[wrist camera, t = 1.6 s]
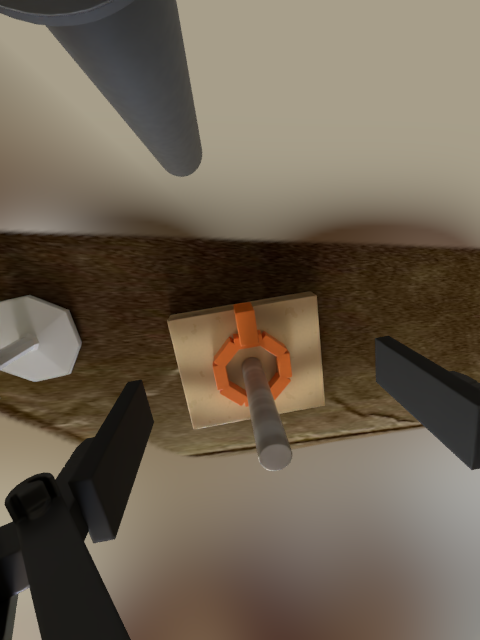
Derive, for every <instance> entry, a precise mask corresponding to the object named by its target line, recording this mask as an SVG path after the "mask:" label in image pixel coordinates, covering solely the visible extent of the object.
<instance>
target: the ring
mask: <svg viewBox="0 0 480 640" xmlns="http://www.w3.org/2000/svg"><path fill="white" fill-rule="evenodd" d="M233 307H234V313H235V319H236V325H237V331H238V334H233V339H232V338H231V337H228V339H227V340H226V341H225V343H224V344H223V345H222V347H221V348H220V349H219V351H218V352H217V353H216V355H215V356H214V361H213V371H214V376H215V381H216V386H217V390H220V394H221V395H223V396H225V397H226V398H228V399H230V400H232V401H233V402H235V403H237V404H238V405H240V406H242V405H243V404H244V403H245V407H248V406H249V404H248V399H247V394H246V390H245V389H243V388H241V387H240V386H238V385H236V384H235V383H233V382H231V381H230V380H229V378H228V373H227V367H226V366H227V364H228V363H229V362H230V360H231V359H232V358H233V357H234V355H235V354H236V353H237V351H238V350H240V349H246V348H252V347H257V346H261V347H262V348H264V349H266V350H267V351H269V352H270V353H272V354H273V355H275V356H276V363H277V372H276V374H275V375H274V376H273V377H272V379H271V380H270V381H269V382H268V384H269V387H270V390H271V393H272V395H273V398H274V400H276V398H277V397H278V396H279V395H280V394H281V392H282V391H283V390H284V389H285V388H286V386H287V385H288V384H289V383H290V382H291V380H290V378H289V377H292V370H291V361H290V353H289V351H288V350H287V348H286V346H285V345H284V344H283V343H281V342H280V341H279V340H277V339H276V338H274V337H273V336H271V335H270V334H268V333H267V332H265V331H263V332H262V334H261V332H260V330H257V325H256V318H255V311H254V309H253V307H252V304H251V302H245V303H239V304H234V305H233Z"/></svg>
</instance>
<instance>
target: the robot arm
mask: <svg viewBox="0 0 480 640" xmlns="http://www.w3.org/2000/svg"><path fill="white" fill-rule="evenodd" d="M375 353H376V382H377V383H378V384H379V385H380V386H381V387H382V388H384V389H385V390H386V391H387V392H388V393H389V394H390V395H391V396H392V397H393V398H394V399H395V400H396V401H398V402H399V403H400V404H401V405H402V406H403V407H404V408H405V409H406V410H407V411H408V412H409V413H411V414H412V415H413V416H414V417H415V418H416V419H417V420H418V421H419V422H420V423H421V424H422V425H424V426H425V427H426V428H427V429H428V430H429V431H430V432H431V433H432V434H433V435H434V436H435V437H437V438H438V439H439V440H440V441H441V442H442V443H443V444H444V445H445V446H446V447H447V448H449V449H450V450H451V451H452V452H453V453H454V454H455V455H456V456H457V457H458V458H459V459H460V460H461V461H463V462H464V463H465V464H466V465H467V466H468V467H469V468H470V469H471V470H474V469H479V468H480V383H478V382H477V381H476V380H474V379H472V378H470V377H468V376H467V375H464V374H461V373H458V372H455V371H450V372H449V371H447V370H446V369H444V368H442V367H440V366H439V365H437V364H435V363H434V362H432V361H430V360H429V359H427V358H425V357H424V356H422V355H420V354H418V353H417V352H415V351H413V350H412V349H410V348H408V347H407V346H405V345H403V344H402V343H400V342H398V341H396V340H395V339H393V338H391V337H390V336H385V337H379V338H375ZM153 423H154V420H153V417H152V414H151V410H150V407H149V403H148V400H147V396H146V393H145V389H144V386H143V382H142V380H137V381H131V382H128V383H127V384H126V386H125V388H124V389H123V391H122V393H121V394H120V396H119V398H118V399H117V401H116V403H115V404H114V406H113V408H112V409H111V411H110V413H109V414H108V416H107V418H106V419H105V421H104V423H103V424H102V426H101V428H100V429H99V431H98V433H97V434H96V436H95V437H93V438H87V439H86V440H84V441H83V442H82V443H81V444H80V445H79V446H78V447H77V448H76V449H75V451H74V452H73V454H72V455H71V457H70V459H69V460H68V461H67V463H66V464H65V467H63V469H62V471H61V472H60V473H59V475H58V477H57V478H56V480H55V479H54V477H53V475H52V474H50V473H41V474H36V475H34V476H32V477H30V478H28V479H26V480H24V481H23V482H21V483H20V484H18V485H17V486H16V487H15V488H14V489H13V490H12V491H11V492H10V493H9V494H8V496H7V497H6V499H5V506H6V508H7V510H8V512H9V514H10V516H11V518H12V519H13V522H11V523H8V524H6V525H4V526H1V527H0V640H12V634H13V627H14V620H15V613H16V606H17V599H18V593H20V592H22V591H24V590H25V589H28V588H30V591H31V595H32V600H33V604H34V608H35V613H36V617H37V621H38V625H39V630H40V634H41V638H42V640H131V639H130V637H129V635H128V633H127V631H126V629H125V627H124V624H123V622H122V620H121V618H120V616H119V614H118V612H117V610H116V608H115V606H114V604H113V602H112V599H111V597H110V595H109V593H108V591H107V589H106V587H105V585H104V583H103V581H102V578H101V576H100V574H99V572H98V570H97V568H96V566H95V564H94V562H93V560H92V557H91V555H90V554H89V551H88V549H87V547H86V545H85V543H84V540H85V538H86V536H87V533H88V532H89V534H90V536H91V539H92V541H93V543H97V542H102V541H108V540H113V539H115V538H116V535H117V532H118V529H119V526H120V523H121V520H122V517H123V514H124V510H125V508H126V505H127V502H128V499H129V495H130V493H131V490H132V487H133V484H134V481H135V478H136V474H137V472H138V468H139V466H140V462H141V460H142V457H143V454H144V450H145V447H146V445H147V442H148V439H149V435H150V432H151V429H152V426H153Z"/></svg>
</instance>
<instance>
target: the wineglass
mask: <svg viewBox="0 0 480 640" xmlns="http://www.w3.org/2000/svg"><path fill="white" fill-rule="evenodd" d="M81 344H82V341H81V338H80V336H79V334H78V331H77V329H76V326H75V324H74V321H73V319H72V316H71V314H70V311H69V310H68V309H65V308H63V307H60V306H58V305H55V304H53V303H50V302H48V301H45V300H43V299H40V298H38V297H35V296H33V295H27V296H22V297H18V298H13V299H8V300H4V301H0V370H1V371H4V372H7V373H10V374H13V375H16V376H19V377H22V378H25V379H28V380H31V381H34V382H36V381H41V380H45V379H50V378H54V377H59V376H63V375H68V374H71V372H72V369H73V367H74V364H75V361H76V358H77V355H78V353H79V350H80V347H81Z"/></svg>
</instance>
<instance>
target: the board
mask: <svg viewBox="0 0 480 640" xmlns="http://www.w3.org/2000/svg"><path fill="white" fill-rule="evenodd" d="M250 302H251V304H252V307H253V309H254V311H255V318H256V325H257V330H260V332H261V334H262V332H263V331H265V332H267V333H268V334H270V335H271V336H273V337H274V338H276V339H277V340H279V341H280V342H281V343H283V344H284V345H285V346H286V348H287V350H288V351H289V353H290V361H291V370H292V377H289V378H290V380H291V382H290V383H289V384H288V385H287V386H286V388H285V389H284V390H283V391H282V392H281V394H280V395H279V396H278V397H277V398H276V400H274V398H273V395H272V393H271V390H270V387H269V384H268V382H269V381H270V380H271V379H272V377H273V376H274V375H275V374H276V372H277V363H276V356H275V355H273V354H272V353H270V352H269V351H267V350H266V349H264V348H262V347H261V346H257V347H252V348H246V349H240V350H238V351H237V353H236V354H235V355H234V357H233V358H232V359H231V360H230V362H229V363H228V364H227V366H226V367H227V373H228V378H229V380H230V381H231V382H233V383H235V384H236V385H238V386H240V387H241V388H243V389H245V390H246V394H247V399H248V404H249V406H248V407H245V403H244V404H243V405H242V406H240V405H238V404H237V403H235V402H233V401H232V400H230V399H228V398H226V397H225V396H223V395H221V394H220V390H217V386H216V381H215V376H214V371H213V361H214V356H215V355H216V353H217V352H218V351H219V349H220V348H221V347H222V345H223V344H224V343H225V341H226V340H227V339H228V337H231V338H232V339H233V334H238V331H237V325H236V319H235V313H234V307H233V305H234V304H232V305H227V306H221V307H215V308H209V309H203V310H197V311H191V312H186V313H180V314H174V315H170V317H169V319H168V321H167V322H168V327H169V331H170V335H171V339H172V343H173V347H174V351H175V355H176V359H177V363H178V367H179V371H180V376H181V380H182V384H183V388H184V392H185V396H186V400H187V404H188V408H189V412H190V416H191V420H192V425H193V429H198V428H204V427H209V426H214V425H220V424H225V423H231V422H236V421H242V420H247V419H251V421H252V426H253V431H254V437H255V442H256V447H257V453H258V458H259V462H260V464H261V465H262V466H263V467H264V468H265V469H267V470H271V471H277V470H281V469H283V468H285V467H286V466H287V465H288V464H289V463H290V461H291V459H292V451H291V448H290V445H289V442H288V439H287V436H286V433H285V430H284V428H283V425H282V422H281V419H280V416H279V414H280V413H285V412H291V411H296V410H302V409H307V408H313V407H318V406H324V405H325V398H324V385H323V372H322V359H321V346H320V333H319V319H318V306H317V295H315V294H314V293H312V292H310V291H308V292H302V293H297V294H291V295H285V296H279V297H273V298H267V299H262V300H256V301H250ZM244 303H245V302H244ZM238 304H239V303H238Z"/></svg>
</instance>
